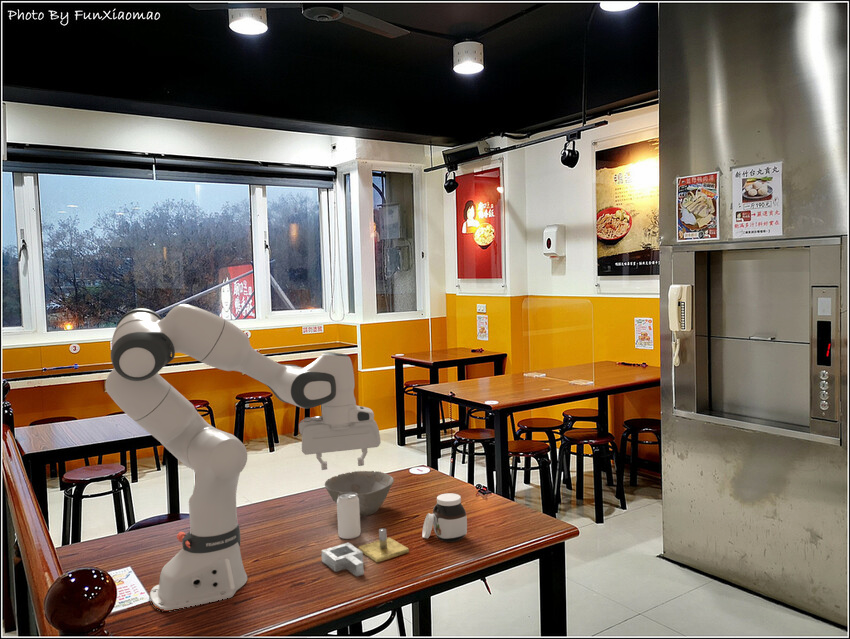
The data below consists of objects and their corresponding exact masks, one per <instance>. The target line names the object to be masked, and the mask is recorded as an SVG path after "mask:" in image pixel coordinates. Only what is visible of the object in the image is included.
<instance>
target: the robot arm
mask: <svg viewBox="0 0 850 639" xmlns="http://www.w3.org/2000/svg"><path fill="white" fill-rule="evenodd" d="M165 315H166V316H165V317H163V318H162V317H161V316H160V315H159V314H158V313H157V312H156V311H154V310H152V309H148V308H144V307H143V308H140V307H139V308H134V309H131V310H129V311H127V312H126V313H125V314H124V315H123V316H121V318H120V319H119V320H118V322H117V324H116V327H115V330H114V333H113V336H112V340H111V344H112V345H111V350H110V360H111V365H112V366H113V369H112V370H111V371H110V372H109V374H108V375H107V377H106V379H105V383H104V386H105V387H104V388H105V391H106V394H108V396H109V397H110V398H111V399H112V400H113V402H114V403H115V404H116V405H117V406H118V407H119V408H120V410H122V411H123V412H124V413H125V414H126V415H127V416H128V417H129V418H130V419H132V420H133V422H135V423H136V424H138V425H139V426H140V427H141V428H143V430H145V431H146V432H147V433H149V434H150V435H151V436H152V437H153V438H154V439H156V440H157V441H158V442H160V444H161V445H162V446H163V447H164V448H165V449H166V450H167V451H168V452H169V453H171V455H172V456H173V457H175V458H176V459H177V460H178V461H179V462H180V463H181V464H183V465H184V467H187V468H189V469H191V470H193V471H194V478H195V480H194V486H193V490H192V494H191V496H190V497H189V499H188V510H189V511H188V512H189V515H188V516H189V526H190V527H189V528H190V529H189V531H188V532H187V533H185V532H184V531H180V532H178V533H177V534H176V539H177V541H179V542H180V543H182V549H180V550H179V551H178V552H177V553H176V555H174V556H173V557H172V558H171V559H170V560H169V561H167V563H166V564H165V565H164V566H163V567H162V569H161V571H160V575H159V580H158V581H159V582H158V584H156V585H155V586H154V585H153V587H152V588H151V590H150V592H149V600H150V599H151V601H152V602H153V604H154V605H155V606H157V607H159V608H160V609H164V610H173V609H179V608H183V609H185V608H184V607H187V608H191V607H190V606H192V607H196V606H200V604H201V605H203V604H204V605H206V604H209V602H210V603H212V602H217V601H218V600H219V601H222V599H223V600H227V598H228V599H230V598H232V597H233V596H235V594H236V592H237V591H238V590H239V589H241V588H242V587H243V586H244V585H245V584H246V583H247V582H248V574H247V573H246V569H245V568H244V567H245V566H244V564H243V559H242V554H241V548H240V546H241V529H240V524H239V523H238V513H237V512H238V511H237V510H238V509H237V490H238V489H237V488H238V485H239V484H238V483H239V478H240V473H241V472H242V471H243V470H244V469H245V467H246V465H247V462H248V450H247V448H246V445H245V444H244V443H243V442H242V441H241V440H240V439H239V438H238V437H236V436H235V435H234V434H232V433H229V432H226V431H223V430H221V429H219V428H216V427H214V426H213V425H211V424H209V423H208V422H207V421H206V420H205V419H204V417H203V416H202V415H201V414H200V413H199V412H198V410H197V409H196V407H195V406H194V404H193V403H192V402H190V400H188V399H187V398H186V397H185V396H184V395H183V394H182V393H180V392H179V390H177V389H176V388H175V387H174V386H173V385H172V384H171V383H169V382H168V381H167V380H166V379H165V378H164V377H162V376H161V375H160V373H159V372H160V371H161V370H162V369H163V368H164V367H165V366H166V365H168V364H169V363H171V361H173V360H174V359H175V357H176V356H175V355H176V354H177V353H178V354H179V353H180V354H184V355H186V356H189V357H191V358H192V359H195V360H196V361H198V362H200V363H203V364H204V365H207V366H209V367H212V368H215V369H217V370H222V371H226V372H232V371H234V372H239V373H241V374H244V375H247V376H248V377H251V378H252V379H254V380H256V381H258V382H260V383H261V384H264V385H265V386H267V387H268V389H269V390H270V391H271V392H272V394H273V395H274V396H275V398H277V399H278V400H279V401H281V402H282V403H285V404H291V405H293V406H296V407H298V408H302V409H312V408H316V407H318V406H321V416H313V417H308V416H307V417H304V419H302V420H300V422H299V423H298V431H299V434H300V435H301V452H302V453H303V454H304V455H305V456H306V455H313V454H314V455H315V456H316V459H317V460H318V462H319V463H320V466H321V471H325V470H328V462H327V461H324V459H322V457H323V454H325V453H334V452H344V451H355V450H361V452H362V454H361V455H360V457H357V465H358V466H359V467H361V466H364V465H365V459H366V456H367V454H368V449H371V448H378V447H379V446H380V445H381V434H380V430H379V426H378V424H377V421H376V420H375V419H374V418H375V413H374V411H373V409H371V408H369V407H366V406H360V405H357V401H356V397H355V394H354V393H355V392H354V391H355V390H354V389H355V373H354V366H353V362H352V360H351V357H350V356H349V355H347V354H345V353H339V352H330V351H329V352H328V351H327V352H322V353H321V354H320V355H319V356H318V357H317V358H316V359H314V361H312V362H311V363H309V364H308V365H306V366H304V367H302V366H299V365H296V364H282V363H279V362H277V361H275V360H273V359H271V358H270V357H268V356H266V355H263V354H262V353H260V352H259V351H257V350H255V349H254V348H253V347H252V345H251V342H250V339H249V338H250V337H249V336H248V335H247V333H245V332H244V331H243V330H242V329H241V328H239V327H238V326H237V325H235V324H234V323H232V322H230V321H228V320H227V319H225V318H222V317H221V316H220V315H217V314H215V313H213V312H210V311H209V310H206V309H203V308H200V307H198V306H194V305H191V304H187V303H181V304H178V305H176V306H173V308H171V309H170V310H169V311H168V313H167V314H165ZM151 601H150V602H151ZM195 605H196V606H195ZM179 610H180V609H179Z"/></svg>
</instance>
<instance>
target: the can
mask: <svg viewBox="0 0 850 639" xmlns="http://www.w3.org/2000/svg"><path fill="white" fill-rule="evenodd" d="M336 514H337V516H336V517H337V531H338V532H337V534H338V537H339V538H340V539H341V540H352V539H356V538H358V537H359V536H360V535H361V516H360V508H359V498H358V496H357V493H355V492H344V493H341V494H339V495H338V499H337V504H336Z"/></svg>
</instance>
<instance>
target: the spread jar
mask: <svg viewBox="0 0 850 639" xmlns="http://www.w3.org/2000/svg"><path fill="white" fill-rule="evenodd" d="M461 502H462V497H461V495H460V494H458V493H449V492H448V493H442V494H439V495H437V497H436V504H435V505H434V506H433V510H432V513H427V514H426V516H425V518H424V521H423V526H422V532H421V533H422V534H421V535H422V536H421V537H422V538H424V539H429V537H430V536H431V534H432V533H431V532H432V529H433V531H434V534H435V536H436V538H437V539H438V540H440V541H441V542H445V543H455V542H458V541H461V540H462V539H463V538H465V536H466V535H467V533H468V520H467V519H468V518H467V512H466V509H465V507H464V505H463V504H462V503H461Z"/></svg>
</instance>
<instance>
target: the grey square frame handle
mask: <svg viewBox="0 0 850 639" xmlns="http://www.w3.org/2000/svg"><path fill="white" fill-rule="evenodd" d="M320 552H321V562H322V563H323V564H324V565H325V566H327V567H328V568H330V569H331V570H332V571H334V572H335V573H337V572H340V571H344V570H347V571H349V572H350V573H351V574H352V575H354V576H355V577H357V578H358V577H361V576H363V575H364V574H365V573H364V572H365V570H364V554H363V552H362V551H360V550H359V548H357V547H356V546H354V545H353V544H352V543H350V542H345V543H342V544H339V545H335V546H332V547H328V548H325V549H322V550H321V551H320Z"/></svg>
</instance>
